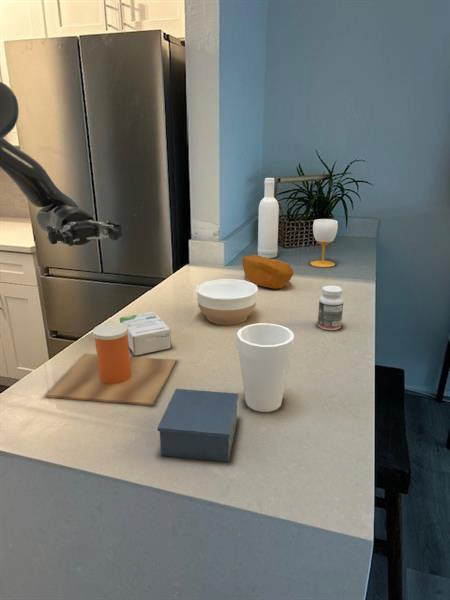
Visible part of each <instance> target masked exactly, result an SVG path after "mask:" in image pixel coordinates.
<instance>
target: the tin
mask: <svg viewBox="0 0 450 600" xmlns="http://www.w3.org/2000/svg"><path fill="white" fill-rule="evenodd" d="M238 399H239V393H236V392H227V391H226V392H225V391H210V390H199V389H183V388H175V390H174V392H173V394H172V396H171V398H170V401H169V402H168V405H167V406H166V409H165V410H164V413H163V415H162V417H161V420H160V421H159V424H158V426H157V432H159V442H160V453H161V454H160V455H161V456H164V457H165V456H166V457H167V456H168V457H175V458H176V457H177V458H187V459H197V460H207V461H216V462H217V461H218V462H229V461H230V458H231V452H232V447H233V441H234V437H235V431H236V426H237V421H238Z"/></svg>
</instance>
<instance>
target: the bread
mask: <svg viewBox="0 0 450 600" xmlns="http://www.w3.org/2000/svg"><path fill="white" fill-rule="evenodd" d="M241 259H242V261H241V262H242V269H243V273H244V275H245V278H246V279H247V281H248V282H251V283H253V284H255V285H256V286H259V287H263V288H269V289H273V290H274V289H275V290H276V289H282V288H284V287H285V286H286V285H287V284H288V283H289V282H290V281H291V280H292V277H293V275H294V269H293V268H292V266H291V265H289V264H288V263H287V262H285V261H282V260H279V259H274V258H266V257H262V256H259V255H258V254H251V255H246V256H243V257H242V258H241Z"/></svg>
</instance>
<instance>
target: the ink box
mask: <svg viewBox="0 0 450 600" xmlns="http://www.w3.org/2000/svg"><path fill="white" fill-rule="evenodd" d="M119 323H124V324H126V325H127V326H128V343H129V350H131V352H132V353H133V355H134V357H137V356H140V355H145V354H150V353H154V352H160V351H163V350H169V349H171V348H172V334H171V328H170V327H169V326H168V325H167V324H166V323H165V321H163V320H162V319H161V318H160V316H159V315H158V314H157V313H156V312H155V311H150V312H144V313H140V314H134V315H128V316H122V317H120V318H119Z"/></svg>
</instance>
